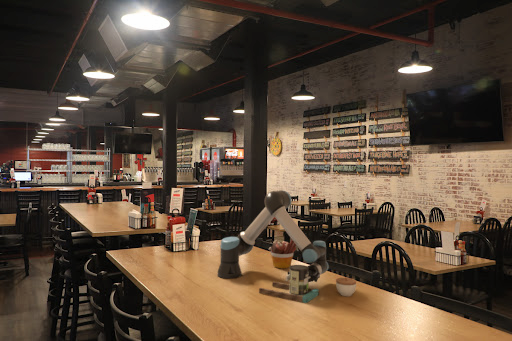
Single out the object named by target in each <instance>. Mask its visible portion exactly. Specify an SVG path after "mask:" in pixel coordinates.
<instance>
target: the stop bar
mask: <svg viewBox="0 0 512 341" xmlns="http://www.w3.org/2000/svg"><path fill="white" fill-rule="evenodd" d="M313 289H314V290H312V291H311V292H309V293H307V294H306V295H304V296H303V300H302V302H301V303H304V304H307V303H308V302H310V301H311V300H313V299H315V298H317V296H319V295H318V294H319V293H320V292H319V293H318V291H320V290H319V288H313ZM304 299H305V300H304Z"/></svg>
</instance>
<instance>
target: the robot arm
mask: <svg viewBox="0 0 512 341" xmlns="http://www.w3.org/2000/svg"><path fill="white" fill-rule="evenodd" d="M292 202H293V201H292V196H291V195H290V193H289V192H288V191H286V190H281V189H280V190H274V191H270V192H268V193H267V194H266V195H265V197H264V206H265V207H264V208H263V209H262V210H261V211H260V213H259V214H258V215H257V216H256V217H255V218H254V219H253V221H252V222H251V223H250V224H249V226H248V227H247V228H246V229H245V231H240V233H239V234H238V236H227V237H224V238H222V239H221V241H220V246H219V247H220V264H219V267H218V270H217V277H219V278H223V279H238V278H241V277H242V269H241V266H240V256H243V255H247V254H249V253H250V252H251V251H252V250H253V248H254V245H255V243H256V241H255V240H256V239H257V238H258V237H259V236H260V235H261V233H262V232H263V231H264V230H265V229H266V228H267V227H268V225H269V224H270V223H271V222H272V221H273V220H274V218H275V219H276V220H277V222H278V223H279V225H281V227H282V228H283V229H284V231H285V232H286V233H287V235H288V236H289V237H290V238H291V240H293V241H294V242H293V244H294V243H295V244H296V246H297V247H296V248H298V249H299V251H300V252H301V253H302V259H303V261H304V262H306V263H309V265H307V266H308V267H309V274H308V277H307V278H305V279H304V284H307V283H308V284H309V283H313V282H315V283H317V282H318V280H319V279H320V277H321V275H323V274H325V273H326V272H327V271H329V268H330V267H329V263H328V262H327V245H326V244H327V243H326V242H325V241H323V240H314V241H313V243H312V242H311V241H310V239H308V237H307V235H305V233H304V232H303V231H302V229H301V228H300V227H299V225H298V224H297V223H296V222H295V220H294V219H293V218H292V216H291V215H290V213H288V211H287V210H286V209H288V208H290V206H291V205H292ZM289 281H290V271H288V272H287V275H285V282H289Z"/></svg>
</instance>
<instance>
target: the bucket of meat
mask: <svg viewBox="0 0 512 341" xmlns="http://www.w3.org/2000/svg"><path fill="white" fill-rule="evenodd" d="M296 246H297V245H296V244H295V243H294V241H293V240H292V239H291V240H290V242H288V241H284V240H282V242H281V241H279V240H278V239H275V240H274V241H273V243H272V246H270V247H269V248H268V250H269V251H270V255H271V259H272V260H271V261H272V265H273V267H274V268H275V269H281V268H282V269H290V268H289V267H290V266H292V261H293V257H294V252H296V250H297V247H296Z"/></svg>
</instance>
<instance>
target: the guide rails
mask: <svg viewBox="0 0 512 341" xmlns="http://www.w3.org/2000/svg"><path fill="white" fill-rule="evenodd" d="M272 287H273V288H279V289H284V290H288V291H290V283H284V282H279V281H272ZM314 289H315V288H310V287H308V293H309V292H311V291H312V290H314ZM319 291H320V290H319ZM319 291H318V293H320V292H319ZM258 293H259V294H263V295H267V296H271V297H276V298H282V299H285V300H289V299H290V301H294V302H300V303H303V302H302V300H303V296H298V295H293V294H290V293H288V292H283V291H279V290H274V289H268V288H264V287H263V288H262V287H260V288H259V289H258ZM318 296H319V294H318ZM304 300H305V299H304Z"/></svg>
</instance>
